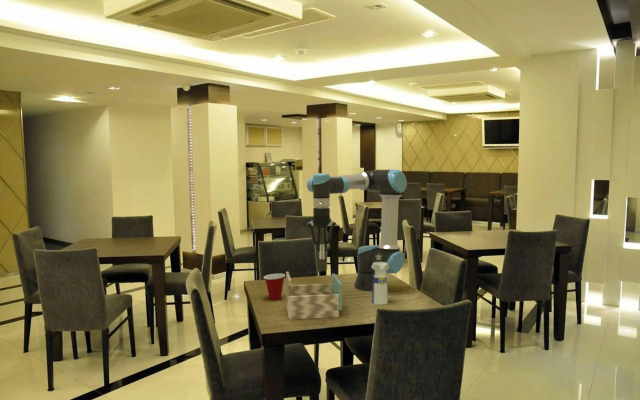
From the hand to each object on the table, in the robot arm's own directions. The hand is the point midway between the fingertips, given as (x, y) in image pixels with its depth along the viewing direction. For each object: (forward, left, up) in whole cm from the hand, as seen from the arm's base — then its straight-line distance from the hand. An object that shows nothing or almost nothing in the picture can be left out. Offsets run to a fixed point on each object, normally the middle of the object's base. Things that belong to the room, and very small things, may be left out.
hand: (321, 258), depth 215 cm
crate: (+5, 0, -24) cm, 25 cm away
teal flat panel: (-7, 0, -21) cm, 23 cm away
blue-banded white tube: (-30, -9, -25) cm, 40 cm away
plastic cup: (+21, -24, -25) cm, 40 cm away
